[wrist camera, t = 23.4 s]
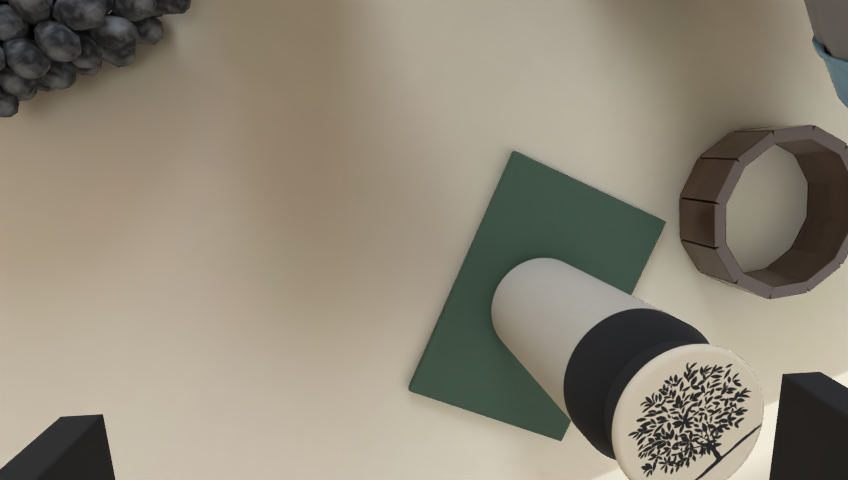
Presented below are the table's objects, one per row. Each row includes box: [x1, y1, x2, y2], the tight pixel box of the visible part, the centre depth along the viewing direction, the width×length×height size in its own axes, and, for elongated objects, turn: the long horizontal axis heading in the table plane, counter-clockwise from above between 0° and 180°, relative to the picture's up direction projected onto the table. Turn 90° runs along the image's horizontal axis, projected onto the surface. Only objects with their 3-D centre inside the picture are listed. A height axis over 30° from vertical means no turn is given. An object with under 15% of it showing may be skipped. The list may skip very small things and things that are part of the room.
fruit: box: [0, 0, 191, 117], centre depth 29 cm, size 9×8×15 cm
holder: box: [680, 125, 848, 299], centre depth 41 cm, size 13×13×4 cm
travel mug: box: [491, 258, 764, 480], centre depth 32 cm, size 8×8×18 cm
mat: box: [409, 151, 666, 441], centre depth 41 cm, size 20×14×1 cm
